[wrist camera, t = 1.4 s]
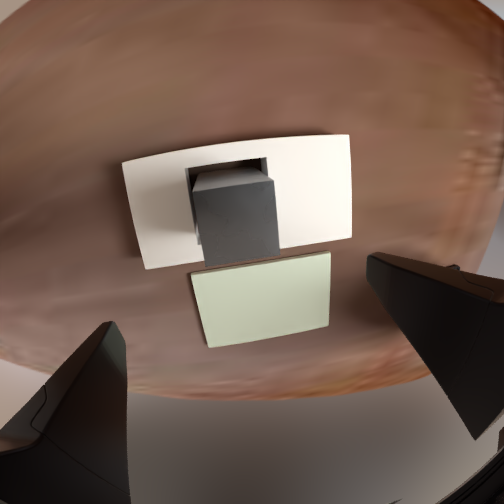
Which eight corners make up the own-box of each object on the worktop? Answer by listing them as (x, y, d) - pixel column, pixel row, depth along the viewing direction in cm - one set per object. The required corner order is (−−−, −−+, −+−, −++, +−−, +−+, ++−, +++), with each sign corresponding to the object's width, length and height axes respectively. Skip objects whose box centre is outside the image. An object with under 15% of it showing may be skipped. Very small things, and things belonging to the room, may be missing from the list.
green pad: (328, 250, 25) (330, 252, 24) (326, 322, 28) (328, 325, 27) (191, 272, 24) (190, 275, 23) (208, 344, 27) (208, 347, 26)
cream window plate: (334, 134, 21) (349, 134, 19) (338, 227, 24) (351, 237, 22) (131, 160, 19) (121, 162, 17) (151, 256, 23) (145, 269, 20)
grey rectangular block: (251, 165, 21) (274, 180, 14) (256, 215, 23) (280, 255, 15) (198, 173, 21) (192, 191, 13) (206, 223, 22) (205, 266, 15)
